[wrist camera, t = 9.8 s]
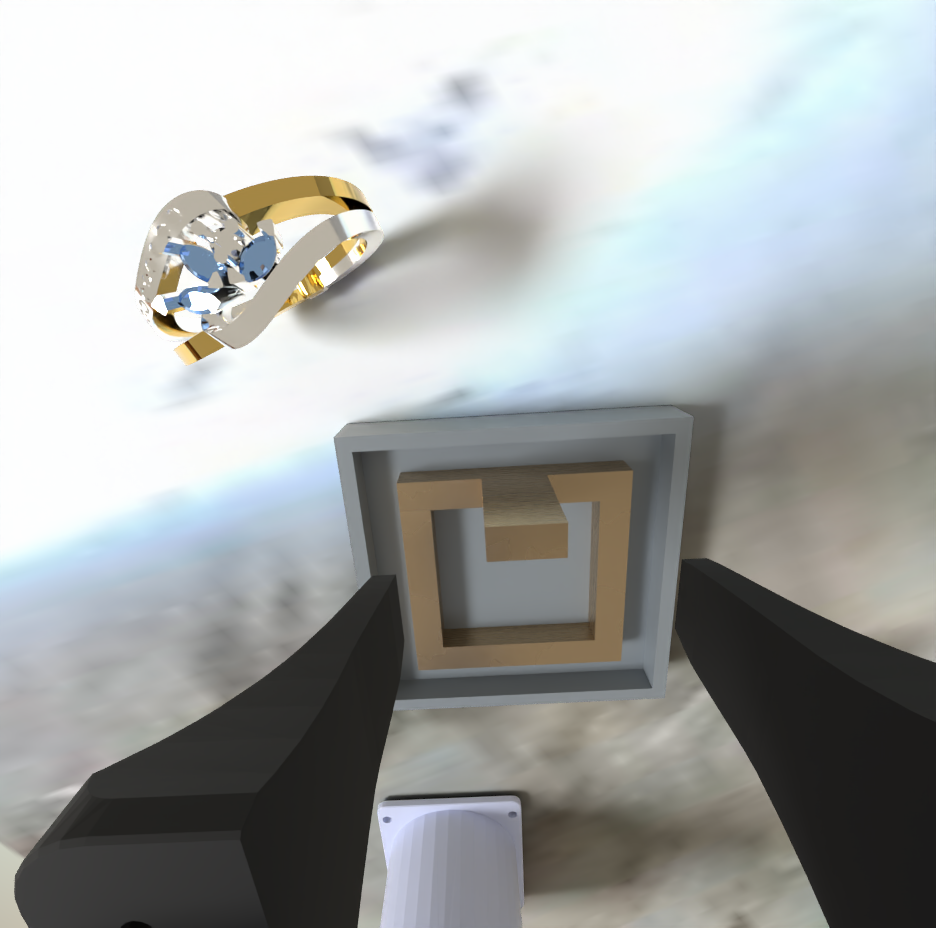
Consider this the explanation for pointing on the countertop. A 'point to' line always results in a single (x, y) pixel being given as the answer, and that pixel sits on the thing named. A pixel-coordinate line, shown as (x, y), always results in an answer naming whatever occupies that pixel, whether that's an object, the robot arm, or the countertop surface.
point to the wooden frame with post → (519, 558)
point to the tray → (526, 581)
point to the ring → (248, 258)
